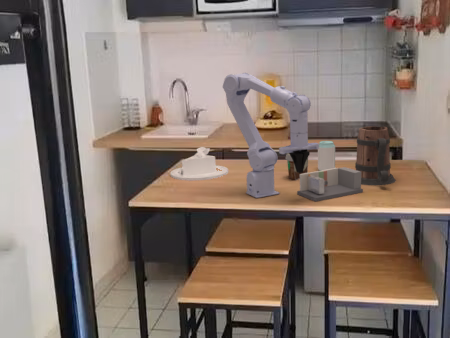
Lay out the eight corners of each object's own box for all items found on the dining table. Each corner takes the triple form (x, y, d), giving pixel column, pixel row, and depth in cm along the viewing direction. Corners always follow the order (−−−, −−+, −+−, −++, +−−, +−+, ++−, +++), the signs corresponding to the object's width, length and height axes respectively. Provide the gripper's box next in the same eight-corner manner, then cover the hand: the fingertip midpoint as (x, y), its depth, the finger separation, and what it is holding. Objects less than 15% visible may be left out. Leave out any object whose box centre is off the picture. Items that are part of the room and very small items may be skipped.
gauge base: (315, 201, 170) (315, 180, 168) (297, 194, 180) (296, 174, 178) (362, 192, 178) (363, 172, 176) (342, 185, 188) (343, 166, 186)
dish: (201, 165, 236) (200, 141, 233) (240, 172, 218) (239, 146, 215) (158, 175, 219) (156, 150, 216) (197, 184, 201) (195, 156, 199)
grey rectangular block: (319, 194, 172) (319, 178, 171) (306, 189, 179) (306, 174, 178) (332, 191, 175) (332, 176, 173) (319, 187, 181) (319, 172, 180)
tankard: (345, 175, 202) (345, 125, 198) (387, 173, 202) (388, 123, 198) (360, 191, 179) (361, 135, 175) (408, 189, 179) (410, 132, 175)
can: (316, 171, 211) (316, 143, 208) (319, 168, 217) (319, 140, 214) (333, 172, 208) (333, 143, 205) (336, 168, 215) (336, 140, 212)
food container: (296, 173, 210) (295, 149, 208) (309, 174, 207) (309, 150, 204) (279, 179, 201) (279, 154, 199) (293, 181, 197) (292, 156, 195)
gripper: (286, 136, 162) (287, 177, 165) (324, 131, 168) (324, 171, 171) (275, 133, 168) (276, 173, 171) (311, 129, 174) (312, 167, 177)
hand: (299, 172), depth 172 cm, fingers closed
